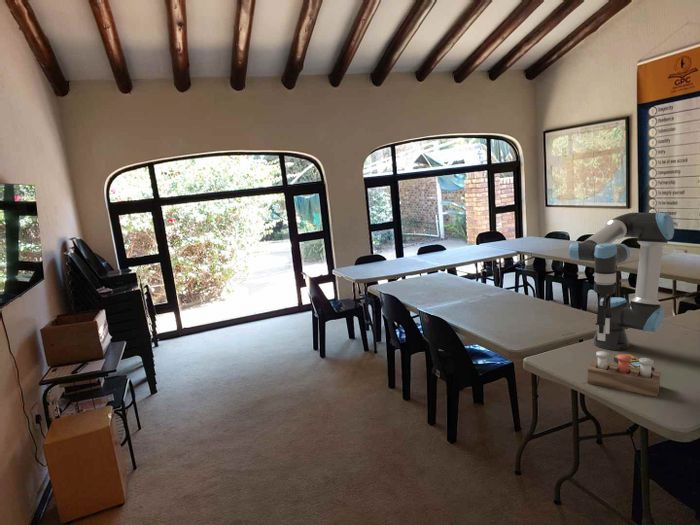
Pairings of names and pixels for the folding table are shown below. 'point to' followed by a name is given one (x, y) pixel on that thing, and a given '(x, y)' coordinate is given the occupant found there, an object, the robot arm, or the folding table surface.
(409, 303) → the folding table surface
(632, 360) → the electronic device
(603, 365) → the grey plug
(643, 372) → the grey plug
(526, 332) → the folding table surface
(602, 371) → the socket block
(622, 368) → the red plug
